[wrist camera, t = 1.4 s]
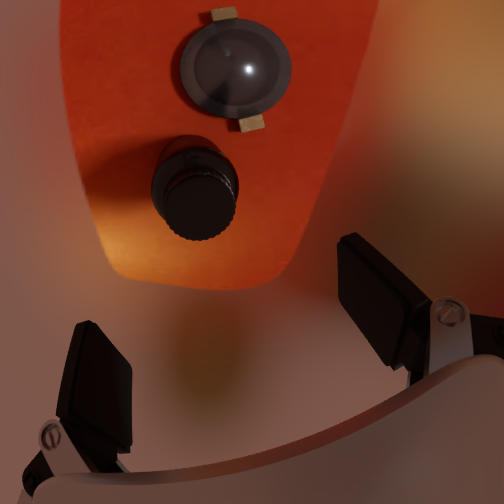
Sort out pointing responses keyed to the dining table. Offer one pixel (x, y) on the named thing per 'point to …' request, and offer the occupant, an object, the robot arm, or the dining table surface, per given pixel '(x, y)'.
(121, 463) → the robot arm
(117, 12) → the dining table surface
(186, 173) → the supplement bottle
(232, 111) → the base
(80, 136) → the dining table surface
